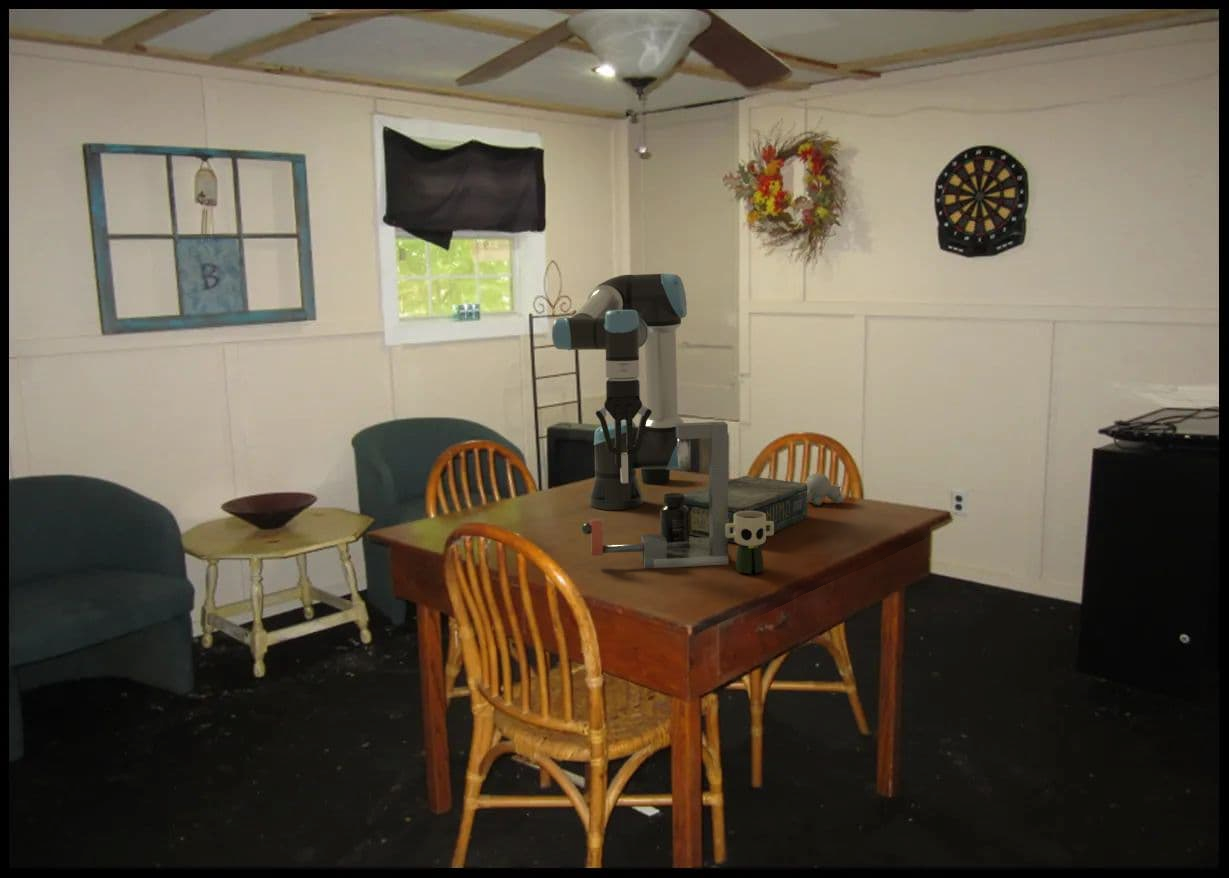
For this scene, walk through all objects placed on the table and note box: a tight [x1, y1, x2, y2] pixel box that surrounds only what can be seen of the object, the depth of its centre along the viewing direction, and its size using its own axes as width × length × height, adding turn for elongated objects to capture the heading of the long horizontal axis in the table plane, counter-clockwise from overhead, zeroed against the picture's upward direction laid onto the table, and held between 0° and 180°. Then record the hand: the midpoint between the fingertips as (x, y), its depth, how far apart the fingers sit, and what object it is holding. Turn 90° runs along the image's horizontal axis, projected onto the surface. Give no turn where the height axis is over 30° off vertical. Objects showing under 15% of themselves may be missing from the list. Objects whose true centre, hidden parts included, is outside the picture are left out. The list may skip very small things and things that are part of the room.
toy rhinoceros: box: [804, 472, 846, 507], centre depth 279 cm, size 7×12×8 cm, turn 89°
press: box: [640, 421, 729, 569], centre depth 229 cm, size 16×19×32 cm
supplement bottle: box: [659, 492, 690, 542], centre depth 234 cm, size 7×7×12 cm
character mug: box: [725, 511, 775, 574], centre depth 218 cm, size 11×7×13 cm, turn 98°
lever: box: [581, 517, 690, 557], centre depth 225 cm, size 3×24×8 cm, turn 95°
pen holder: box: [640, 469, 671, 485], centre depth 311 cm, size 9×9×10 cm
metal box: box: [683, 475, 809, 544], centre depth 257 cm, size 21×32×10 cm, turn 140°
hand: (624, 481), depth 227 cm, fingers closed
